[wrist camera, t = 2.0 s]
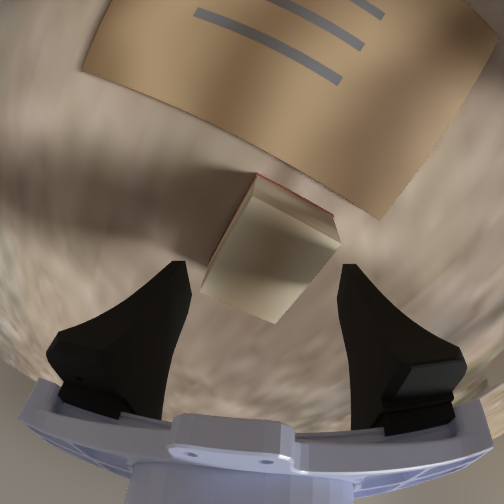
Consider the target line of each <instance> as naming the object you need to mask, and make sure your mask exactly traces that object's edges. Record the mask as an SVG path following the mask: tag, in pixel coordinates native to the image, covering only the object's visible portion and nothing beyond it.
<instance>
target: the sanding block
mask: <svg viewBox="0 0 504 504" xmlns="http://www.w3.org/2000/svg"><path fill="white" fill-rule="evenodd" d="M333 218H334V215H333V214H331V213H330V212H328V211H326V210H324V209H323V208H321V207H319V206H317V205H316V204H314V203H312V202H310V201H309V200H307V199H305V198H303V197H301V196H300V195H298V194H296V193H294V192H292V191H290V190H289V189H287V188H285V187H283V186H281V185H279V184H277V183H276V182H274V181H272V180H270V179H268V178H266V177H264V176H262V175H260V174H258V173H257V174H256V176H255V178H254V179H253V181H252V183H251V185H250V187H249V188H248V190H247V192H246V194H245V196H244V197H243V199H242V201H241V203H240V205H239V206H238V208H237V210H236V212H235V214H234V215H233V217H232V219H231V221H230V223H229V225H228V226H227V228H226V230H225V232H224V234H223V236H222V238H221V239H220V241H219V243H218V245H217V247H216V249H215V251H214V253H213V254H212V256H211V258H210V260H209V262H210V263H209V266H208V269H207V272H206V274H205V277H204V280H203V283H202V286H201V289H200V292H202V293H204V294H206V295H208V296H210V297H213V298H215V299H217V300H219V301H222V302H224V303H226V304H228V305H231V306H233V307H235V308H238V309H240V310H242V311H245V312H247V313H249V314H252V315H254V316H256V317H259V318H261V319H263V320H266V321H268V322H271V323H273V324H276V322H277V321H278V320H279V319H280V318H281V317H282V316H283V314H284V313H285V312H286V311H287V310H288V309H289V307H290V306H291V305H292V304H293V303H294V302H295V300H296V299H297V298H298V297H299V296H300V294H301V293H302V292H303V291H304V290H305V288H306V287H307V286H308V285H309V284H310V282H311V281H312V280H313V279H314V278H315V276H316V275H317V274H318V273H319V271H320V270H321V269H322V268H323V266H324V265H325V264H326V263H327V261H328V260H329V259H330V258H331V256H332V255H333V254H334V253H335V251H336V250H337V249H338V248H339V246H340V245H341V241H340V238H339V235H338V232H337V228H336V225H335V222H334V219H333Z"/></svg>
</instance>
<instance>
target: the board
mask: <svg viewBox="0 0 504 504" xmlns="http://www.w3.org/2000/svg"><path fill="white" fill-rule="evenodd" d="M498 40H499V37H498V36H497V35H496V34H495V33H494V32H493V30H492V29H491V28H490V27H489V26H488V25H487V24H486V23H485V21H484V20H483V19H482V18H481V17H480V16H479V15H478V14H477V13H476V12H475V11H474V10H473V9H472V8H471V7H470V6H469V5H468V4H467V3H466V2H465V1H464V0H112V2H111V4H110V6H109V8H108V10H107V12H106V14H105V16H104V18H103V20H102V22H101V24H100V26H99V28H98V31H97V33H96V35H95V37H94V40H93V42H92V45H91V47H90V49H89V52H88V55H87V57H86V60H85V62H84V65H83V68H82V71H84V72H87V73H90V74H93V75H96V76H99V77H102V78H104V79H107V80H110V81H113V82H115V83H118V84H121V85H123V86H126V87H129V88H131V89H134V90H136V91H139V92H141V93H144V94H146V95H149V96H151V97H154V98H156V99H158V100H161V101H163V102H166V103H168V104H170V105H172V106H175V107H177V108H179V109H181V110H184V111H186V112H188V113H190V114H193V115H195V116H197V117H199V118H201V119H203V120H205V121H207V122H210V123H212V124H214V125H216V126H218V127H220V128H222V129H224V130H226V131H228V132H230V133H232V134H234V135H236V136H238V137H240V138H242V139H244V140H246V141H247V142H249V143H251V144H253V145H255V146H257V147H259V148H261V149H262V150H264V151H266V152H268V153H270V154H272V155H273V156H275V157H277V158H279V159H281V160H282V161H284V162H286V163H288V164H289V165H291V166H293V167H295V168H296V169H298V170H300V171H301V172H303V173H305V174H307V175H308V176H310V177H312V178H313V179H315V180H317V181H318V182H320V183H321V184H323V185H325V186H326V187H328V188H330V189H331V190H333V191H334V192H336V193H338V194H339V195H341V196H342V197H344V198H345V199H347V200H348V201H350V202H352V203H353V204H355V205H356V206H358V207H359V208H361V209H362V210H364V211H365V212H367V213H368V214H370V215H371V216H373V217H374V218H376V219H377V220H378V221H380V220H381V219H382V217H383V216H384V215H385V214H386V212H387V211H388V210H389V209H390V207H391V206H392V205H393V203H394V202H395V201H396V199H397V198H398V197H399V195H400V194H401V193H402V191H403V190H404V189H405V187H406V186H407V185H408V183H409V182H410V181H411V179H412V178H413V177H414V175H415V174H416V172H417V171H418V170H419V168H420V167H421V165H422V164H423V163H424V161H425V160H426V158H427V157H428V156H429V154H430V153H431V151H432V150H433V148H434V147H435V145H436V144H437V142H438V141H439V139H440V138H441V137H442V135H443V134H444V132H445V130H446V129H447V127H448V126H449V124H450V123H451V121H452V120H453V118H454V117H455V115H456V113H457V112H458V110H459V109H460V107H461V105H462V104H463V102H464V101H465V99H466V97H467V96H468V94H469V92H470V91H471V89H472V87H473V86H474V84H475V82H476V80H477V79H478V77H479V75H480V73H481V72H482V70H483V68H484V66H485V64H486V63H487V61H488V59H489V57H490V55H491V53H492V51H493V50H494V48H495V46H496V44H497V42H498Z"/></svg>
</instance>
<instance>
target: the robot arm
mask: <svg viewBox="0 0 504 504" xmlns="http://www.w3.org/2000/svg"><path fill="white" fill-rule="evenodd" d="M191 297H192V293H191V288H190V283H189V278H188V273H187V268H186V262H185V261H172V262H171V263H169V264H168V265H167V266H166V267H165V268H164V269H163V270H161V271H160V272H159V273H158V274H157V275H156V276H155V277H153V278H152V279H151V280H150V281H149V282H148V283H146V284H145V285H144V286H143V287H141V288H140V289H139V290H138V291H136V292H135V293H134V294H133V295H131V296H130V297H129V298H127V299H126V300H124V301H123V302H121V303H120V304H118V305H117V306H115V307H114V308H112V309H110V310H108V311H106V312H105V313H103V314H101V315H99V316H97V317H95V318H93V319H91V320H89V321H87V322H84V323H82V324H80V325H77V326H74V327H71V328H68V329H66V330H63V331H59V332H58V334H57V335H56V337H55V338H54V340H53V342H52V343H51V345H50V346H49V348H48V350H47V351H46V356H47V359H48V362H49V363H50V365H51V366H52V368H53V369H54V370H55V372H56V373H57V374H58V375H59V377H60V378H61V379H62V380H63V382H64V383H63V385H62V387H60V386H59V385H57V384H55V383H53V382H50V381H48V380H45V379H42V378H38V380H37V382H36V384H35V386H34V388H33V390H32V391H31V394H30V395H29V397H28V399H27V401H26V404H25V405H24V407H23V409H22V411H21V413H20V415H19V417H18V418H19V420H20V421H21V422H22V423H23V424H25V425H26V426H27V427H28V428H29V429H30V430H32V431H33V432H34V433H35V434H37V435H38V436H39V437H40V438H42V439H43V440H44V441H45V442H47V443H48V444H50V445H52V446H54V447H57V448H58V449H60V450H63V451H65V452H67V453H69V454H71V455H73V456H75V457H77V458H79V459H81V460H84V461H86V462H88V463H90V464H93V465H95V466H97V467H100V468H102V469H105V470H107V471H110V472H112V473H115V474H118V475H120V476H123V477H126V478H128V479H130V482H129V486H128V490H127V493H126V497H125V501H124V504H354V499H356V498H362V497H366V496H372V495H377V494H381V493H386V492H390V491H394V490H398V489H401V488H405V487H409V486H412V485H416V484H419V483H422V482H426V481H428V480H432V479H435V478H438V477H441V476H444V475H447V474H450V473H453V472H456V471H458V470H461V469H463V468H465V467H466V466H468V465H469V464H471V463H472V462H474V461H476V460H477V459H479V458H480V457H481V456H483V455H484V454H486V453H487V452H489V451H490V450H491V449H493V447H494V445H493V442H492V437H491V434H490V430H489V427H488V424H487V420H486V417H485V414H484V411H483V408H482V405H481V402H480V399H476V400H473V401H469V402H465V403H462V404H459V405H457V406H455V407H454V408H453V406H452V403H451V401H453V400H454V395H453V392H452V391H453V390H454V388H455V387H456V386H457V385H458V383H459V382H460V381H461V380H462V378H463V377H464V375H465V373H466V370H467V364H466V362H465V359H464V357H463V355H462V352H461V350H460V348H459V347H457V346H455V345H453V344H451V343H449V342H447V341H445V340H443V339H441V338H439V337H437V336H435V335H434V334H432V333H430V332H428V331H427V330H425V329H424V328H422V327H421V326H419V325H418V324H416V323H415V322H414V321H412V320H411V319H410V318H408V317H407V316H406V315H405V314H403V313H402V312H401V311H400V310H399V309H397V308H396V307H395V306H394V305H393V304H392V303H391V302H390V301H389V300H388V299H387V298H386V297H385V296H384V295H383V294H382V293H381V292H380V291H379V290H378V289H377V288H376V287H375V286H374V284H373V283H372V282H371V281H370V280H369V279H368V278H367V276H366V275H365V274H364V273H363V272H362V271H361V269H360V268H359V267H358V266H357V265H356V264H343V267H342V273H341V279H340V284H339V290H338V295H337V305H338V314H339V320H340V325H341V329H342V334H343V338H344V343H345V347H346V352H347V357H348V363H349V374H350V389H351V431H339V432H320V433H295V432H294V430H293V428H292V427H291V426H289V425H287V424H284V423H282V422H279V421H271V420H260V419H243V418H230V417H220V416H210V415H202V414H185V413H184V414H181V415H179V416H176V417H174V418H173V422H167V421H162V420H161V418H162V409H163V402H164V395H165V389H166V383H167V378H168V373H169V369H170V364H171V360H172V356H173V353H174V349H175V347H176V344H177V341H178V338H179V336H180V333H181V330H182V328H183V325H184V322H185V320H186V317H187V314H188V310H189V306H190V301H191Z"/></svg>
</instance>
